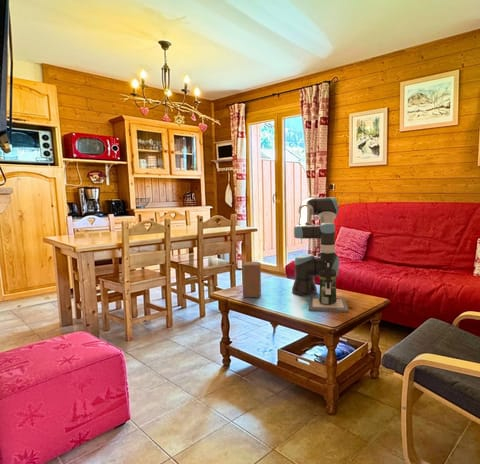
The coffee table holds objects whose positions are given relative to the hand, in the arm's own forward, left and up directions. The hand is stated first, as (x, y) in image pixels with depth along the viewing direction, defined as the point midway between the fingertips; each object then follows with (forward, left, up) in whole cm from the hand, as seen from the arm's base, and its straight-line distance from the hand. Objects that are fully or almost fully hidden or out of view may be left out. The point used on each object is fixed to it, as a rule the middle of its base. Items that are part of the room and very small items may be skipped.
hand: (327, 290), depth 189 cm
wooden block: (-13, -44, -8) cm, 47 cm away
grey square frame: (0, 0, -8) cm, 8 cm away
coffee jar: (0, 0, -7) cm, 7 cm away
